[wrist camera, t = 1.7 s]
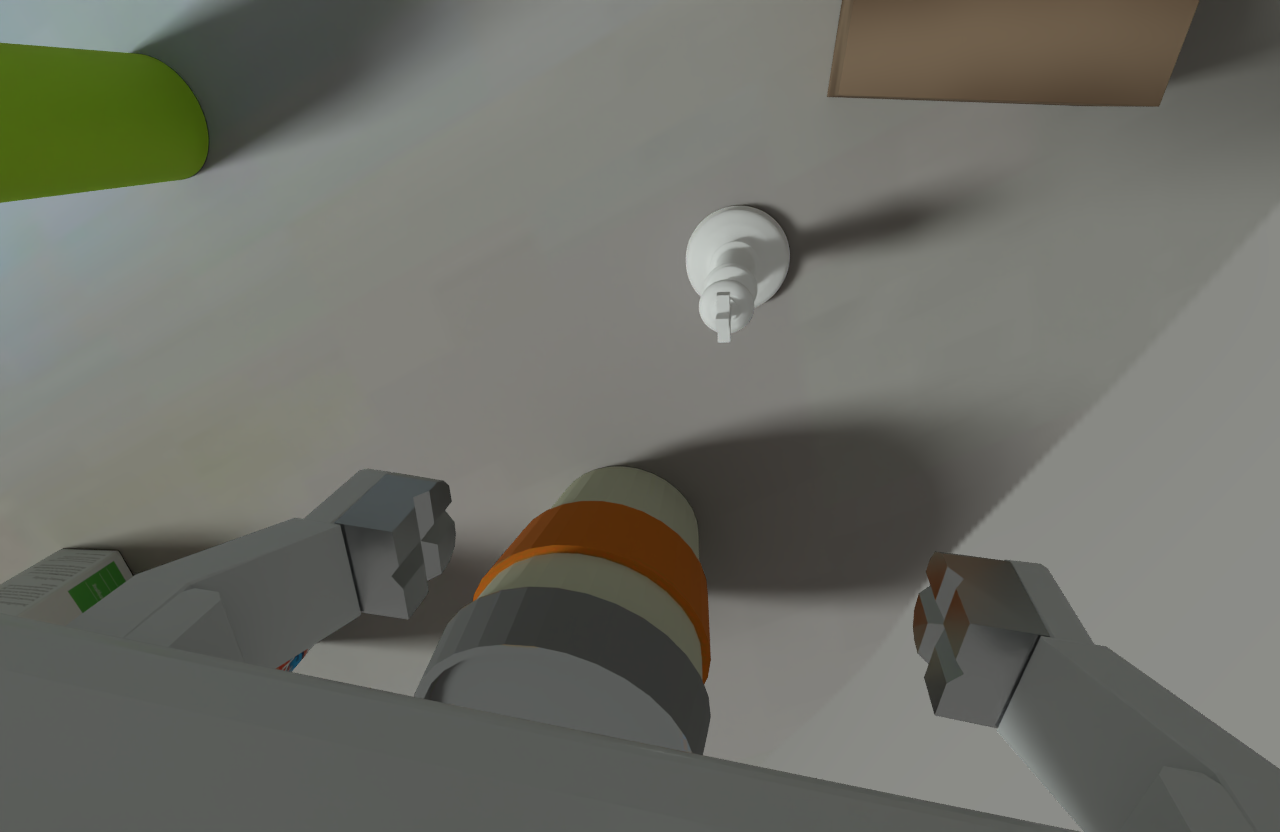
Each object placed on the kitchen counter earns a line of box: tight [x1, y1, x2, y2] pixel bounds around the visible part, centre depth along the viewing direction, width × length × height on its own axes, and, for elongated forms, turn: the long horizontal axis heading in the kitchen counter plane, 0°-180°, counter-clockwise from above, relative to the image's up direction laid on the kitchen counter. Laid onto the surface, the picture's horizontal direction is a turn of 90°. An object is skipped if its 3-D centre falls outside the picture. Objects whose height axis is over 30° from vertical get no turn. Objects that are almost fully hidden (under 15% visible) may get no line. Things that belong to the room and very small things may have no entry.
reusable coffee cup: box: [414, 466, 711, 755], centre depth 31 cm, size 13×12×15 cm
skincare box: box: [0, 549, 133, 626], centre depth 44 cm, size 8×7×16 cm
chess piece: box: [686, 206, 790, 343], centre depth 25 cm, size 5×5×10 cm
